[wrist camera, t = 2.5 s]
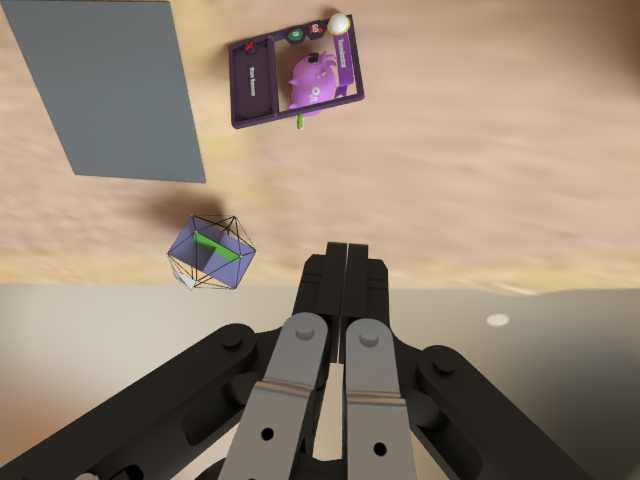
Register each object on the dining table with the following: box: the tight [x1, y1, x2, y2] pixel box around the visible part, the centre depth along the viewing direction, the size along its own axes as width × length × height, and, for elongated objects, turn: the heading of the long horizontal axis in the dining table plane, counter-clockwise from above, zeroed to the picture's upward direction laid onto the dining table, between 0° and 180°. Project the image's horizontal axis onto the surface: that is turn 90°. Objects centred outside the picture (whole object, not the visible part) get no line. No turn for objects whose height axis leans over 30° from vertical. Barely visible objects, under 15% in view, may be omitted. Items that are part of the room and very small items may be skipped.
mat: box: [0, 0, 206, 183], centre depth 30 cm, size 13×14×1 cm
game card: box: [228, 13, 364, 130], centre depth 26 cm, size 7×5×9 cm
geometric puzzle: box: [166, 215, 257, 290], centre depth 33 cm, size 7×7×8 cm
